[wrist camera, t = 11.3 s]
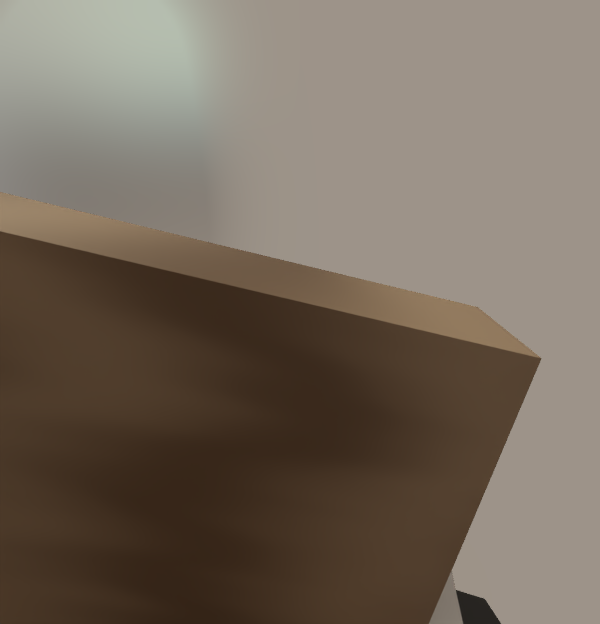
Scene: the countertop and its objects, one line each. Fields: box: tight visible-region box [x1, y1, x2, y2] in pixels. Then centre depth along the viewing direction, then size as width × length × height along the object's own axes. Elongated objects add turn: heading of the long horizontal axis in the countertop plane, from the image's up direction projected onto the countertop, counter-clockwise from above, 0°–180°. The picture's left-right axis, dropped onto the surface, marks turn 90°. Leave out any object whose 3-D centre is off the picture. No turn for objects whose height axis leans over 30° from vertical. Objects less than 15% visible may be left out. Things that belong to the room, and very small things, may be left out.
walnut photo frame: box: [0, 192, 541, 624], centre depth 10 cm, size 9×3×14 cm, turn 90°
